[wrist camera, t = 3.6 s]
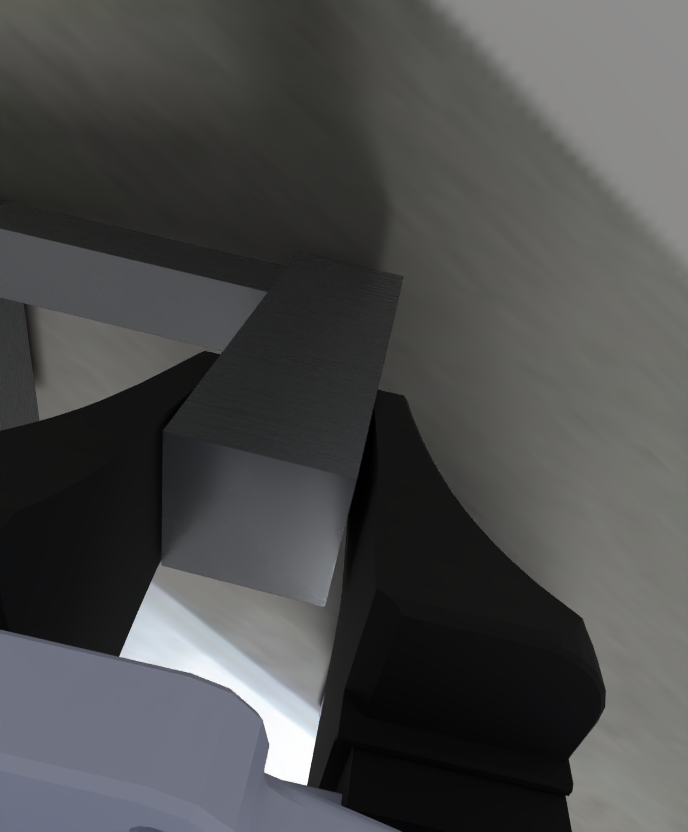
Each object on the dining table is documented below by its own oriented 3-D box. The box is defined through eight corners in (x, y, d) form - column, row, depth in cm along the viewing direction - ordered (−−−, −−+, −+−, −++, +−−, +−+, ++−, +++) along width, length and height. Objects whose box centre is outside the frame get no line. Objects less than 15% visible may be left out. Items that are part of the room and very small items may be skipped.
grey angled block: (403, 276, 16) (357, 478, 9) (347, 502, 21) (286, 759, 13) (-60, 168, 17) (-481, 271, 9) (-13, 412, 21) (-266, 612, 14)
